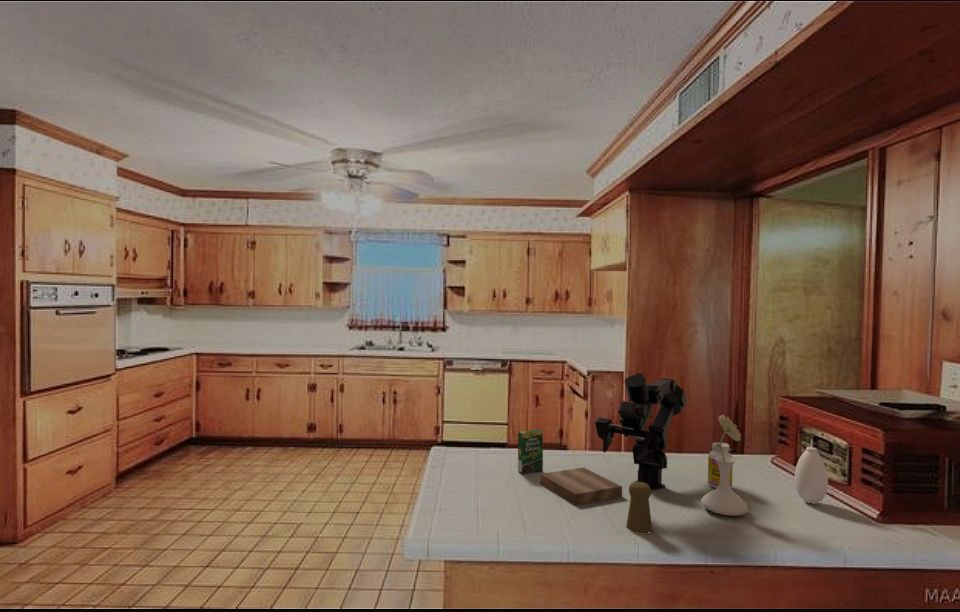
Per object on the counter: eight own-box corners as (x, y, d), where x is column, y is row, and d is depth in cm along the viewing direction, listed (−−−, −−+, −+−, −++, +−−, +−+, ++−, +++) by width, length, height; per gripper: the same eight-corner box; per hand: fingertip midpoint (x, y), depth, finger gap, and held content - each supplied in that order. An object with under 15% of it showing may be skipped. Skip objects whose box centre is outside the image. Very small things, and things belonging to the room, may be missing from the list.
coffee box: (521, 474, 164) (521, 433, 164) (516, 471, 166) (517, 431, 166) (543, 471, 167) (543, 431, 167) (538, 468, 170) (539, 429, 169)
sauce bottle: (825, 501, 145) (827, 437, 145) (829, 510, 138) (830, 443, 138) (793, 495, 149) (794, 433, 149) (795, 504, 142) (796, 439, 142)
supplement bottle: (708, 488, 153) (708, 445, 153) (707, 481, 160) (708, 440, 159) (733, 492, 151) (733, 448, 151) (731, 485, 157) (732, 442, 157)
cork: (652, 525, 127) (653, 481, 127) (652, 535, 121) (652, 489, 121) (626, 521, 129) (627, 477, 129) (625, 531, 123) (626, 485, 123)
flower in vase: (752, 522, 130) (754, 423, 129) (703, 516, 133) (705, 419, 133) (742, 503, 142) (744, 413, 142) (697, 498, 145) (699, 410, 145)
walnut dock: (583, 476, 162) (583, 467, 162) (622, 496, 146) (622, 486, 146) (540, 483, 155) (540, 473, 155) (575, 505, 139) (575, 494, 139)
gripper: (601, 389, 148) (581, 425, 137) (668, 397, 137) (652, 437, 126) (608, 418, 153) (589, 456, 142) (673, 428, 142) (658, 470, 131)
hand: (620, 454), depth 135 cm, fingers open, 9 cm apart
